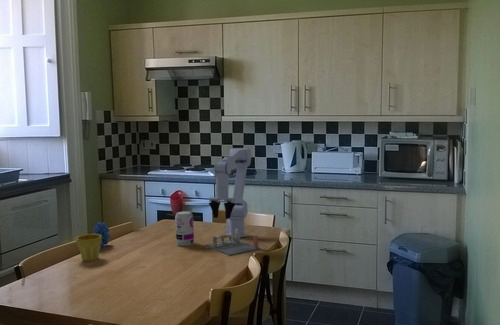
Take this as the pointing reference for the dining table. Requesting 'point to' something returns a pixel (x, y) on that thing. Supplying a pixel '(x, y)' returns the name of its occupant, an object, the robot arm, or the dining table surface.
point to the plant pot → (89, 246)
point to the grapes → (102, 232)
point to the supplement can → (184, 228)
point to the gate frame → (236, 246)
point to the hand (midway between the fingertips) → (221, 218)
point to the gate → (223, 239)
